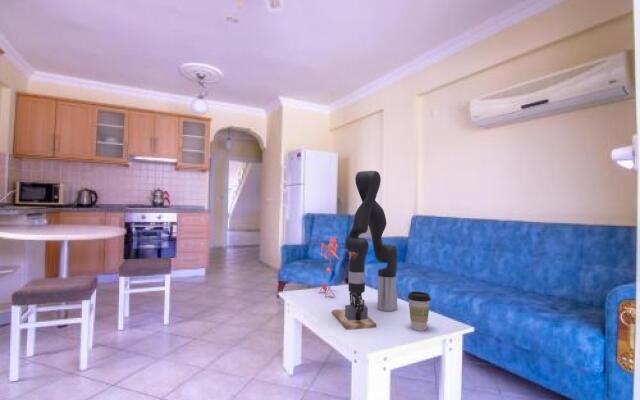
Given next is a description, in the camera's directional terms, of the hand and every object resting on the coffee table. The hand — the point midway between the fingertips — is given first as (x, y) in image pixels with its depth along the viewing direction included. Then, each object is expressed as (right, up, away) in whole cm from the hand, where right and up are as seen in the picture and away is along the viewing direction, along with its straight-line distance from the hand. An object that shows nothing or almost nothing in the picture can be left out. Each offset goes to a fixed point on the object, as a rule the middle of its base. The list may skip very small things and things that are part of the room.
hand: (356, 317), depth 150 cm
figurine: (-9, -3, +47) cm, 48 cm away
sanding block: (0, -1, 0) cm, 1 cm away
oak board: (-1, -2, +4) cm, 5 cm away
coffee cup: (+27, -3, -6) cm, 28 cm away
